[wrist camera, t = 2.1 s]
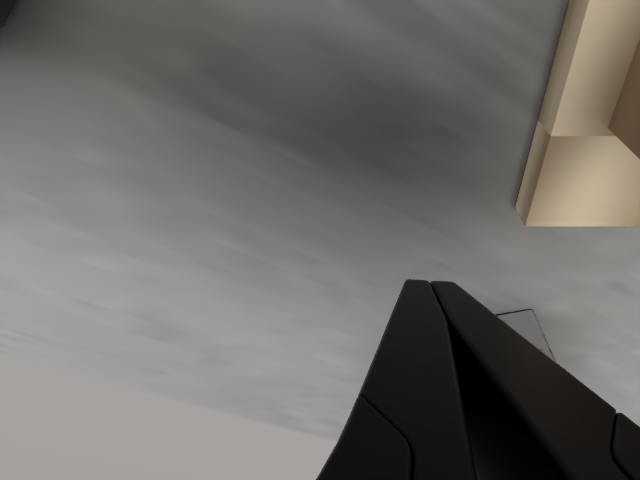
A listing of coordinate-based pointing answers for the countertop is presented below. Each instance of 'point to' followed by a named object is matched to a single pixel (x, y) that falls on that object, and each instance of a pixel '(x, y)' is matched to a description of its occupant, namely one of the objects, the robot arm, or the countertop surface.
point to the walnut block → (629, 108)
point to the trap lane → (585, 125)
